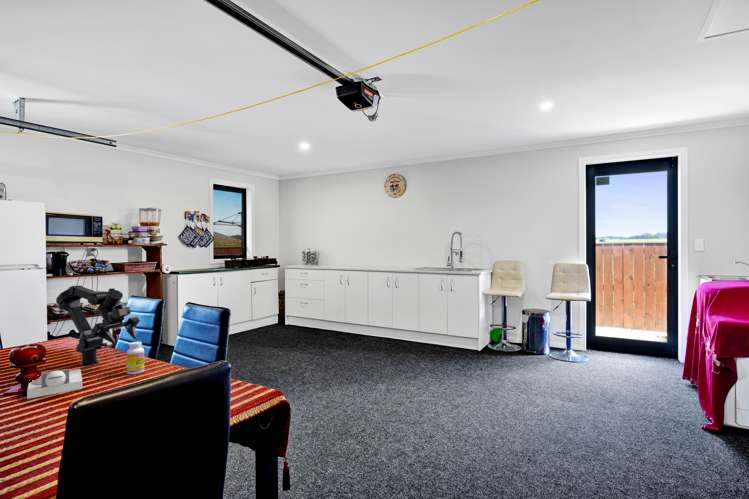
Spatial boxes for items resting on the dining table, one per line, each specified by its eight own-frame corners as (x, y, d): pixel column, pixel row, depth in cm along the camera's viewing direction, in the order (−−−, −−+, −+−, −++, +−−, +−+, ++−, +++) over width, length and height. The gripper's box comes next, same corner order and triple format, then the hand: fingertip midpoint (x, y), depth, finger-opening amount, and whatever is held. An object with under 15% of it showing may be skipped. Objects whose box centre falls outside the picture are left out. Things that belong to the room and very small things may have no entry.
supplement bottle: (136, 375, 169) (135, 344, 169) (123, 374, 171) (122, 344, 171) (148, 370, 176) (147, 341, 176) (135, 369, 177) (134, 340, 177)
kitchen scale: (30, 384, 160) (30, 363, 160) (80, 375, 170) (80, 355, 170) (27, 399, 143) (26, 375, 143) (82, 389, 153) (82, 367, 153)
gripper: (94, 304, 170) (111, 332, 165) (137, 299, 187) (153, 324, 182) (83, 322, 174) (100, 350, 169) (126, 315, 190) (142, 340, 186)
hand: (125, 340), depth 176 cm, fingers open, 9 cm apart
